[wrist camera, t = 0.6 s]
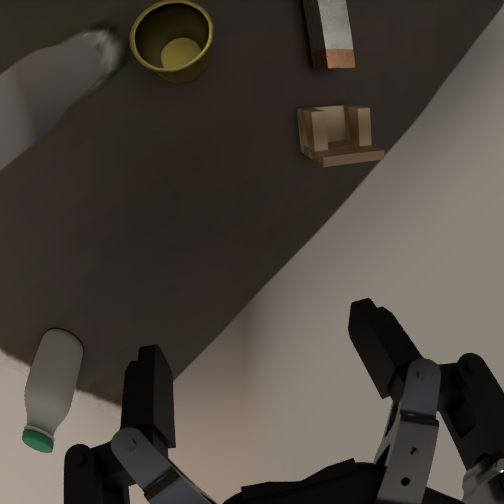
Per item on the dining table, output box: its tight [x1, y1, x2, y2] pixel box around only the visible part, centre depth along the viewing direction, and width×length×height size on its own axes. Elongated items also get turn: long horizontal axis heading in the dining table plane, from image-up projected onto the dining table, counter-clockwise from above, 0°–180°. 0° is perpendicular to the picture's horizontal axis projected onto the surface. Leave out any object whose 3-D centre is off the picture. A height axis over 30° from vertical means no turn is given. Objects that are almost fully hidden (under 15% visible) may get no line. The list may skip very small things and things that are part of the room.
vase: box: [130, 0, 213, 83], centre depth 21 cm, size 6×6×14 cm
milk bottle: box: [22, 329, 83, 453], centre depth 34 cm, size 8×8×20 cm
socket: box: [297, 104, 384, 167], centre depth 30 cm, size 5×7×7 cm
